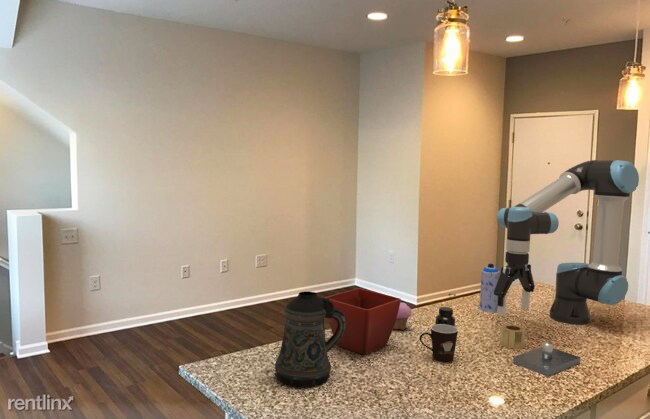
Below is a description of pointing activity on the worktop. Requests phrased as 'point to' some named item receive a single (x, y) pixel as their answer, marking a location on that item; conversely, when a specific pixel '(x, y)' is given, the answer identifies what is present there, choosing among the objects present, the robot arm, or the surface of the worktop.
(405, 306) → the cupcake
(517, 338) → the ring
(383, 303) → the plant pot
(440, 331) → the coffee mug
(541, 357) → the shaft stand
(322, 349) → the beer stein
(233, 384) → the worktop surface
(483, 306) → the aerosol can
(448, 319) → the supplement bottle
